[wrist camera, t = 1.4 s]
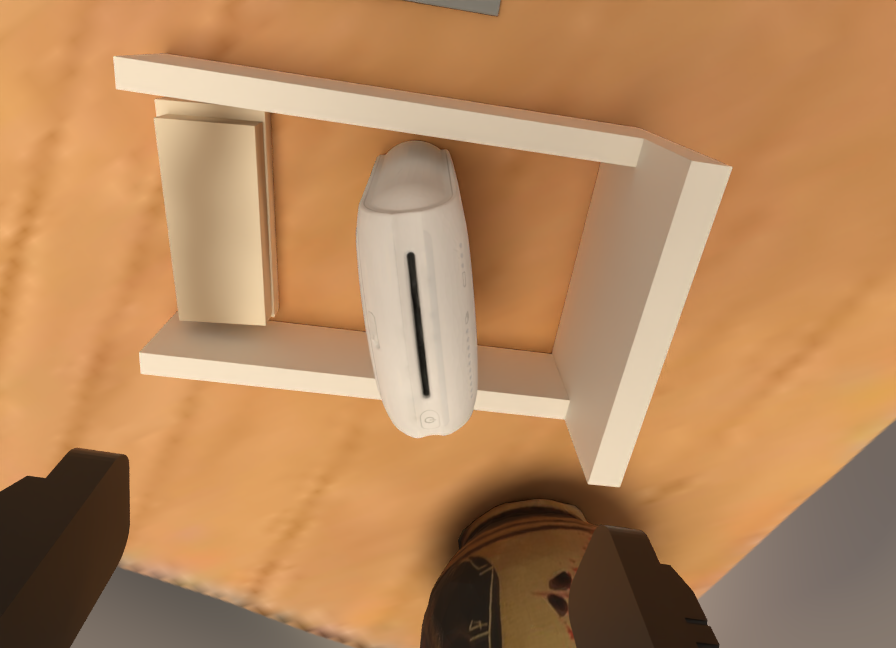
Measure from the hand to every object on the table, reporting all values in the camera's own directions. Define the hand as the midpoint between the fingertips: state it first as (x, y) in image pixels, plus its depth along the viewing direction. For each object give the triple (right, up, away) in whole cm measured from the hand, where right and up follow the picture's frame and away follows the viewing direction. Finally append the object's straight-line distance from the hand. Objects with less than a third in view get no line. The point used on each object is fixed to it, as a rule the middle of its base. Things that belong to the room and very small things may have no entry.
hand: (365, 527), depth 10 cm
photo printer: (0, +8, +22) cm, 23 cm away
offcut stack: (-10, +10, +21) cm, 25 cm away
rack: (-1, +8, +21) cm, 23 cm away
